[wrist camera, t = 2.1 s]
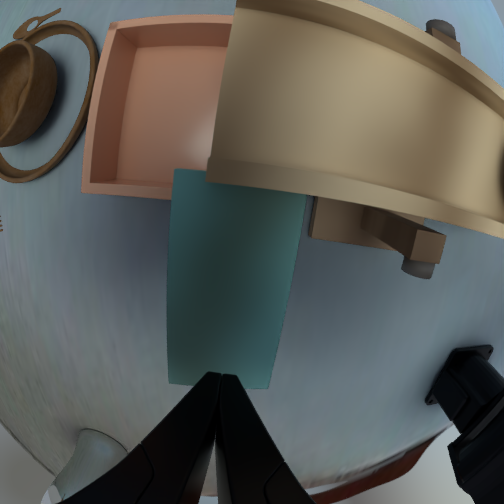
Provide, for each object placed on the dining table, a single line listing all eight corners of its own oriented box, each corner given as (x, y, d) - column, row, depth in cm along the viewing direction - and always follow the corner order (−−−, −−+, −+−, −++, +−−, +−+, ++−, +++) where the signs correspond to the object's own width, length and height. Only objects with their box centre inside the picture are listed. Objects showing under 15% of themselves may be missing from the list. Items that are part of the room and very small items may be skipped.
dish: (282, 49, 13) (290, 22, 9) (261, 201, 15) (264, 211, 12) (134, 44, 12) (110, 22, 9) (112, 186, 15) (81, 193, 12)
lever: (525, 136, 9) (564, 141, 6) (471, 353, 13) (499, 379, 10) (208, 3, 7) (205, -50, 4) (170, 370, 11) (161, 429, 8)
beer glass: (66, 426, 22) (18, 520, 8) (103, 424, 21) (55, 540, 7) (103, 460, 24) (71, 550, 10) (143, 461, 23) (115, 567, 9)
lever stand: (432, 75, 13) (499, 51, 6) (409, 250, 16) (474, 292, 10) (334, 39, 12) (376, -17, 6) (308, 234, 16) (344, 280, 10)
